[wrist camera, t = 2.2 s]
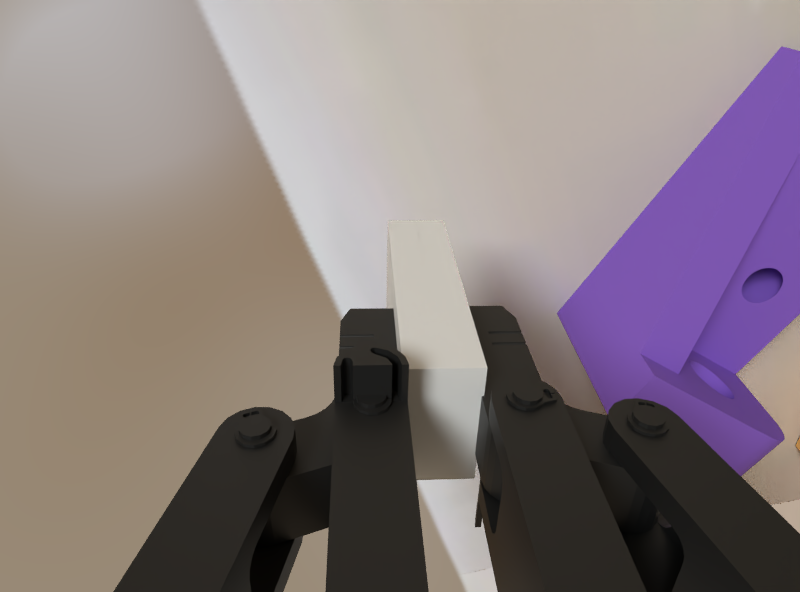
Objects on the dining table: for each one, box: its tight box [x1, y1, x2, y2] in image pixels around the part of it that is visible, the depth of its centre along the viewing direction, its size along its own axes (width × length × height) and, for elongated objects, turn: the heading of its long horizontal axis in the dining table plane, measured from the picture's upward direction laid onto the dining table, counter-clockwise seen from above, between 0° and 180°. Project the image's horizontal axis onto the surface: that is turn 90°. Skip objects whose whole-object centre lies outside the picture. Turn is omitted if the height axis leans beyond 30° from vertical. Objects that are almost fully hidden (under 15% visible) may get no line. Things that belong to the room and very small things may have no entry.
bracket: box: [557, 47, 800, 476], centre depth 21 cm, size 12×7×7 cm, turn 149°
